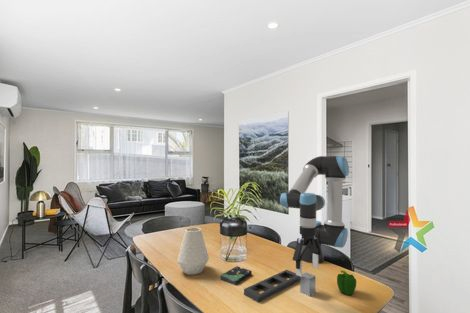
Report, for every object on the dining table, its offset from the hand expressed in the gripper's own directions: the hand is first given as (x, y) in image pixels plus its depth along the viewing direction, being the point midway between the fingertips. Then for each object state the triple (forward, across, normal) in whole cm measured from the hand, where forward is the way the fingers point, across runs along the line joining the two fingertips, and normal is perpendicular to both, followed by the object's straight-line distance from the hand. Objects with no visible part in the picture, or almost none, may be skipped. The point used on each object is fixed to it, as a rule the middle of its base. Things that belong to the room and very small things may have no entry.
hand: (307, 271), depth 122 cm
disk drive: (+11, +14, -34) cm, 39 cm away
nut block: (+10, 0, 0) cm, 10 cm away
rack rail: (+10, +8, -14) cm, 19 cm away
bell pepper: (+10, -14, +12) cm, 21 cm away
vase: (+10, +28, -56) cm, 63 cm away
